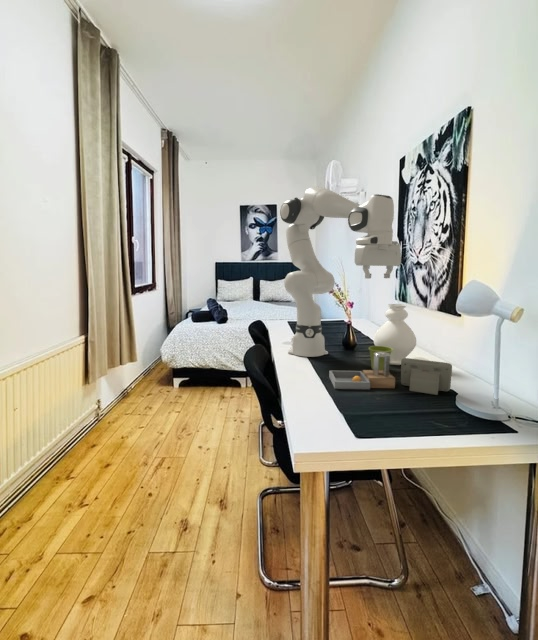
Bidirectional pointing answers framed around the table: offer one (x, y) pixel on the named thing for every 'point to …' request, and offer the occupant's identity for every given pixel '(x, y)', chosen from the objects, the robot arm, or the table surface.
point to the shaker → (386, 363)
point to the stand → (379, 379)
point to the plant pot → (381, 359)
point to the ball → (356, 379)
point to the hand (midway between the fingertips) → (377, 278)
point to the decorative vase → (396, 334)
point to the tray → (348, 380)
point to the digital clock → (426, 375)
